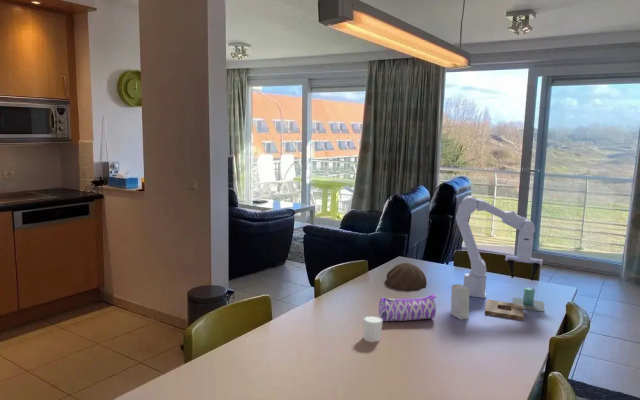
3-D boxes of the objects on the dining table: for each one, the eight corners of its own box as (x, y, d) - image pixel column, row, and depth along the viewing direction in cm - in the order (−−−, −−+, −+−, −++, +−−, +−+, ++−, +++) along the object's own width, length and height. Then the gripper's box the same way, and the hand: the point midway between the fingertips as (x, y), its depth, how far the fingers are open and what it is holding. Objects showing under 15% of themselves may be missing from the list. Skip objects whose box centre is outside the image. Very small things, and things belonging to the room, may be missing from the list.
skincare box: (468, 318, 181) (471, 288, 180) (459, 320, 180) (461, 289, 178) (459, 313, 187) (461, 283, 185) (449, 314, 185) (451, 284, 184)
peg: (522, 304, 196) (524, 289, 195) (523, 301, 200) (524, 287, 199) (533, 306, 195) (534, 291, 194) (533, 303, 198) (534, 288, 197)
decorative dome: (382, 276, 233) (383, 257, 231) (423, 278, 232) (424, 258, 230) (386, 289, 213) (387, 268, 212) (430, 291, 213) (432, 269, 211)
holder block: (484, 314, 186) (484, 310, 186) (487, 302, 199) (487, 299, 199) (523, 320, 181) (523, 316, 181) (522, 308, 194) (523, 304, 193)
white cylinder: (369, 344, 157) (369, 324, 156) (358, 336, 163) (358, 317, 162) (386, 340, 160) (386, 321, 159) (374, 332, 166) (375, 314, 166)
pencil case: (382, 325, 173) (383, 300, 172) (374, 315, 182) (375, 292, 181) (438, 322, 178) (439, 298, 176) (428, 313, 187) (429, 290, 185)
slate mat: (512, 307, 194) (512, 306, 194) (512, 298, 205) (513, 297, 205) (544, 312, 190) (544, 311, 190) (543, 302, 201) (543, 301, 201)
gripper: (506, 247, 200) (503, 278, 202) (543, 252, 194) (540, 283, 196) (506, 244, 206) (504, 274, 208) (543, 248, 201) (540, 279, 203)
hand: (522, 278), depth 203 cm, fingers open, 7 cm apart
